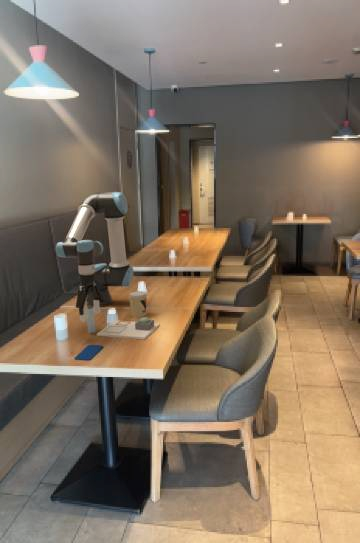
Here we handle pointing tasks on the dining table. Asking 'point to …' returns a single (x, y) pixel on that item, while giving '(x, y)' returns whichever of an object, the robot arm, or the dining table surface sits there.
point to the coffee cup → (138, 303)
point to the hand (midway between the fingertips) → (90, 317)
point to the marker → (90, 319)
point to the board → (129, 329)
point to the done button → (144, 320)
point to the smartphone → (88, 352)
